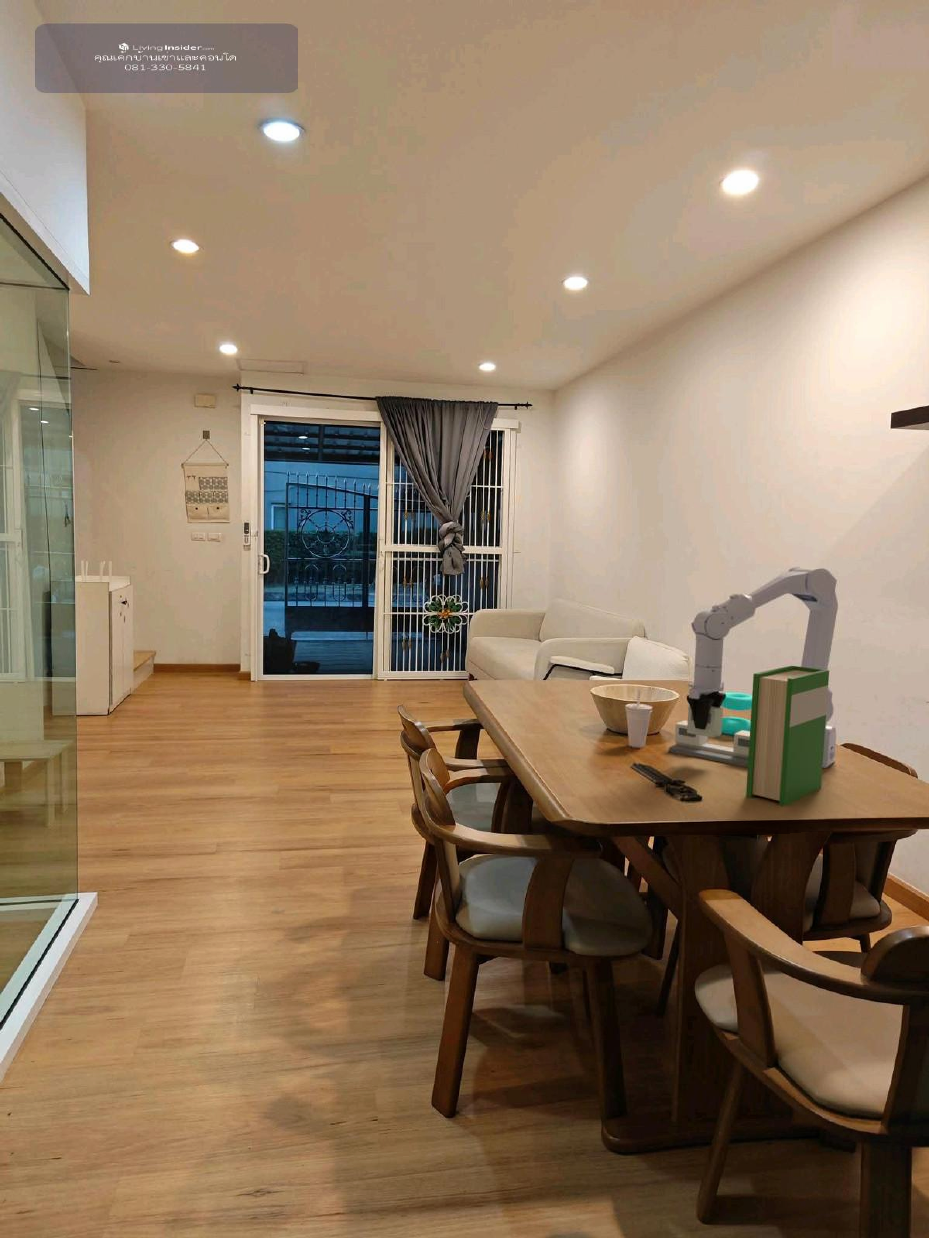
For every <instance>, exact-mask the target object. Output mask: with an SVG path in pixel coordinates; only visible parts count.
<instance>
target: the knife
mask: <svg viewBox="0 0 929 1238" xmlns="http://www.w3.org/2000/svg"><path fill="white" fill-rule="evenodd" d="M630 768H633V769H634V770H635V771H637V772H638V773H640V774H641V775H643V776H645V777H646V778H647V779H649V780H651V781H652V780H653V781H652V782H653V783H654V785H655V786H654V787H655V788H661V787H665V793H666V794H668V795H669V794H670V795H669V796H671V797H674V796H675V795H676V796H680V797H679V800H680V801H681V802H683V801H685V803H689V802H690V801H691V802H692V803H693V802H701V801H703V796H702V795H701V794H699V793H698V791H697V790H696V789H695V788H693V787H692V786H690V785H686V781H685V780H684V779H683V780H682V779H672V778H671V777H669V776H667V775H665V774H664V773H662V772H661V771H659V770H657V769H656V768H654V767H653V766H651V765H647V764H642V763H638V764H637V763H636V762H632V764H631V766H630ZM669 784H670V785H669ZM658 785H659V786H658ZM674 786H675V787H674ZM686 792H688V793H686ZM686 796H687V797H686ZM686 801H687V802H686ZM691 802H690V803H691Z"/></svg>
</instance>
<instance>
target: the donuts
mask: <svg viewBox="0 0 929 1238" xmlns="http://www.w3.org/2000/svg"><path fill="white" fill-rule="evenodd" d="M723 693H724V694H726V698H725V699H724V701H723V703H722V705H721V708H723V709H727V710H730V711H742V712H743V711H751V707H752V694H748V693H744V692H743V693H742V692H723ZM750 724H751V720H749V719H746V718H743V717H739V716H738V717H736V716H726V717H722V730H721V734H723V735H724V734H725V735H727V736H728V735H729V736H734V734H735V733H737V732H740V731H742V730H744V731H750Z"/></svg>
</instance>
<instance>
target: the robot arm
mask: <svg viewBox="0 0 929 1238" xmlns="http://www.w3.org/2000/svg"><path fill="white" fill-rule="evenodd" d="M837 581H838V580H837V579H836V578H835V576H833V574H832V573H831V572H830V571H829V570H828V569H826V568H824V567H821V568H820V567H818V568H805V567H800V566H798V567H797V566H795V567H792V568H790V569H788V570H786V571H785V570H784V571H783V572H781V573H780V574H779V575H778V576H776V577H775V578H773V579H772V580H770V581H769V582H767V583H765V584H763V585H762V586H760V587H759V588H757V589H756V590H753V591H752V592H750V593H749V594H747V595H745V594H743V593H738V594H737V593H732V594H731V595H729V598H730V599H728V600H726V601H724V602H721V604H715V605H713V606H711V609H710V610H702V611H700V612H698V613H697V614H696V616H695V617H694V619H693V622H690V623H691V624H690V625H691V629H692V632H694V635H695V653H694V654H695V655H694V656H695V657H694V672H693V677H694V678H693V682H690V683H688V687H689V691H688V695H686V702H687V703H688V706H690V708H691V711H692V714H693V720H694V725H695V728H698V729H705V728H706V725H707V720H708V714H709V711H710V708H711V706H714V707H720V708H722V706H721V705H722V703H723V701H724V699H725V698H726V694H724V693H725V692H723V691H724V687H725V682H723V681H722V674H723V673H722V669H723V656H724V655H723V654H724V653H723V652H724V640H725V639H724V638H726V637H727V636H728V635H729V633H730V631H731V629H733V628H735V627H736V626H738V625H740V624H742V623H744V622H745V621H747V620H749V619H751V618H752V617H754V616H755V613H756V609H758V608H759V607H762V606H763V605H766V604H768V603H770V602H772V601H774V600H777V598H780V597H783V596H784V595H787V594H788V595H792V596H794V598H797V599H798V600H800V601H801V602H802V603H803V604H804V605H805V606H806V607H807V609H808V610H809V616H808V622H807V627H806V635H805V641H804V645H803V653H802V658H801V665H800V667H806V668H814V669H822V670H829V662H830V657H831V656H830V655H831V651H832V644H833V638H834V633H835V626H836V620H837V615H838V614H837V613H838V610H839V609H838V608H839V607H838V606H839V602H838V598H837V594H836V588H837V587H836V586H837V583H838V582H837ZM832 698H833V691H832V690H831V689H830V687H829V686H828V696H827V710H826V724H825V738H824V752H823V766H822V769H823V768H825V769H826V768H828V767H829V766H831V765H832V764H833V763H835V762H836V759H835V755H836V754H835V753H836V743H837V731H836V730H837V729H836V727H835V726H832V725H828V722H829V721H830V720H831V719H832V717H833V715H834V710H835V709H834V705H833V699H832Z"/></svg>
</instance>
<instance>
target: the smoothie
mask: <svg viewBox="0 0 929 1238" xmlns="http://www.w3.org/2000/svg"><path fill="white" fill-rule="evenodd" d="M636 701H637V702H636V703H628V704H626V705H625V706H624V707H625V708H624V710H625V711H626V720H627V721H626V722H627V735H628V746H629V747H631V746H632V748H645V747H646V741H647V735H648V730H649V724H650V719H651V714H652V712H653V706H652V705H648V704H646V703H645V704H644V703H641V702H640V701H641V688H640V687H639V688H638V689H637V700H636Z"/></svg>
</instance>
